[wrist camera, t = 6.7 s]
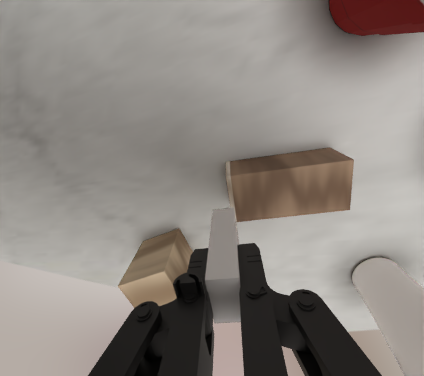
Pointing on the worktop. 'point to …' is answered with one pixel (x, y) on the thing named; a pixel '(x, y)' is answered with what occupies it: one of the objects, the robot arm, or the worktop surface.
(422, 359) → the drinking glass
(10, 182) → the worktop surface
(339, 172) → the walnut block
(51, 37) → the worktop surface
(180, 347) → the robot arm
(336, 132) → the worktop surface
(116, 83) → the worktop surface
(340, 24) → the plastic cup
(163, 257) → the oak block
